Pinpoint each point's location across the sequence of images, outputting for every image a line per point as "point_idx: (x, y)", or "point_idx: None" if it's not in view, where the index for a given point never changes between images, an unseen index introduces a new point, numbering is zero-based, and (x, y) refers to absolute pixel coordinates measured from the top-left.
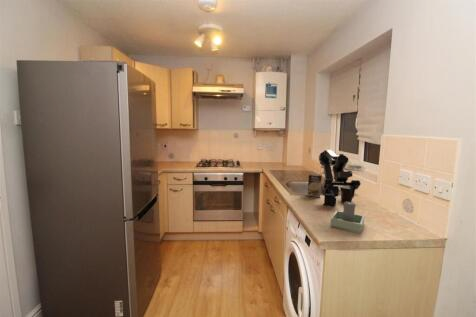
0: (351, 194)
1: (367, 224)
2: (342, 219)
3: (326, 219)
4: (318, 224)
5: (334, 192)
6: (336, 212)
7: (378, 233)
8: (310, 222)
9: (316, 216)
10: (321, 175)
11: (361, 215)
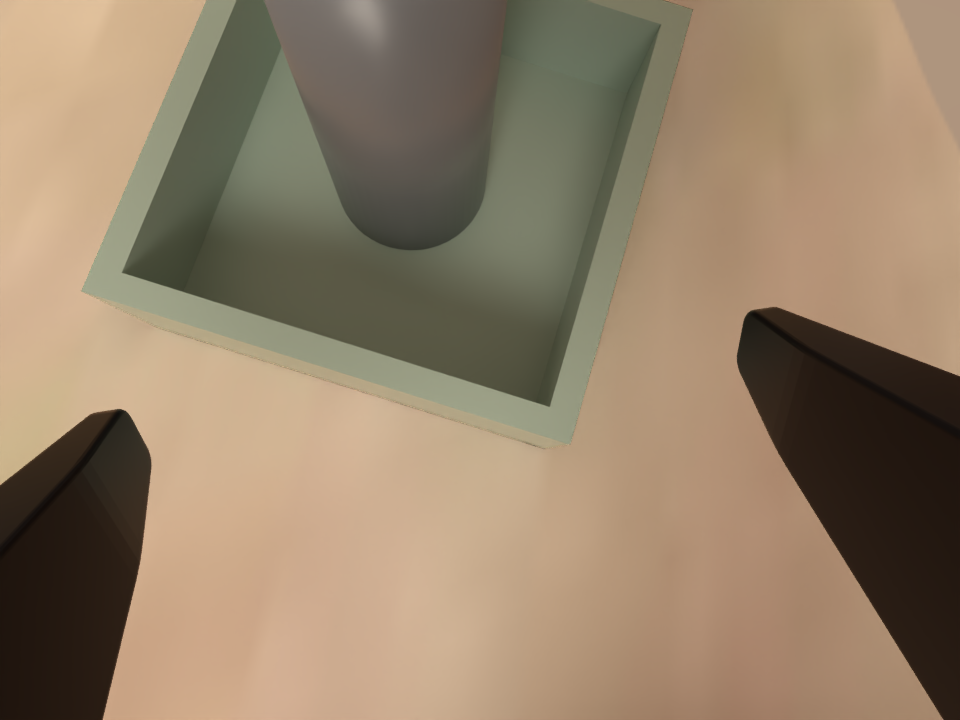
0: (98, 617)
1: (98, 334)
2: (457, 360)
3: (689, 354)
4: (799, 128)
5: (880, 368)
6: (580, 319)
7: (58, 50)
8: (905, 167)
9: None
10: None
11: (133, 294)
